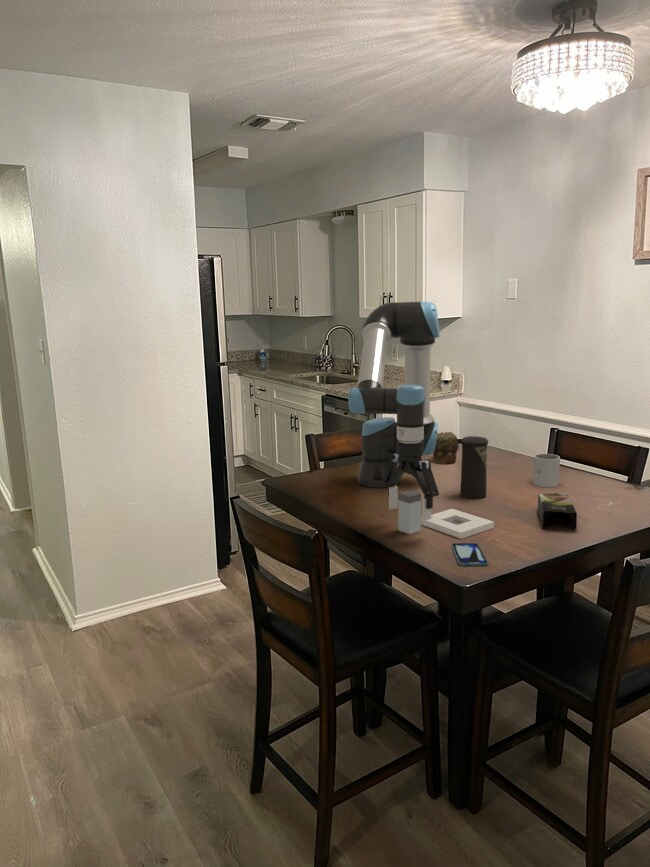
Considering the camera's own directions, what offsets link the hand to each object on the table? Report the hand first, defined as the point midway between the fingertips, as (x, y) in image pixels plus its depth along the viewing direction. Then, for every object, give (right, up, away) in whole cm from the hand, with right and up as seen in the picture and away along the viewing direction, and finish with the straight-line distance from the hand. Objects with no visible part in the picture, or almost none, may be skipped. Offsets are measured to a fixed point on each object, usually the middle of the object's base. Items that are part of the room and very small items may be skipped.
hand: (409, 513), depth 188 cm
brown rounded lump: (+25, +11, +80) cm, 85 cm away
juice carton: (+45, -3, +9) cm, 46 cm away
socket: (+14, -4, +4) cm, 15 cm away
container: (+26, +2, +33) cm, 42 cm away
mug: (+54, +5, +47) cm, 72 cm away
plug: (0, -5, +1) cm, 5 cm away
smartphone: (+13, -9, -17) cm, 24 cm away
